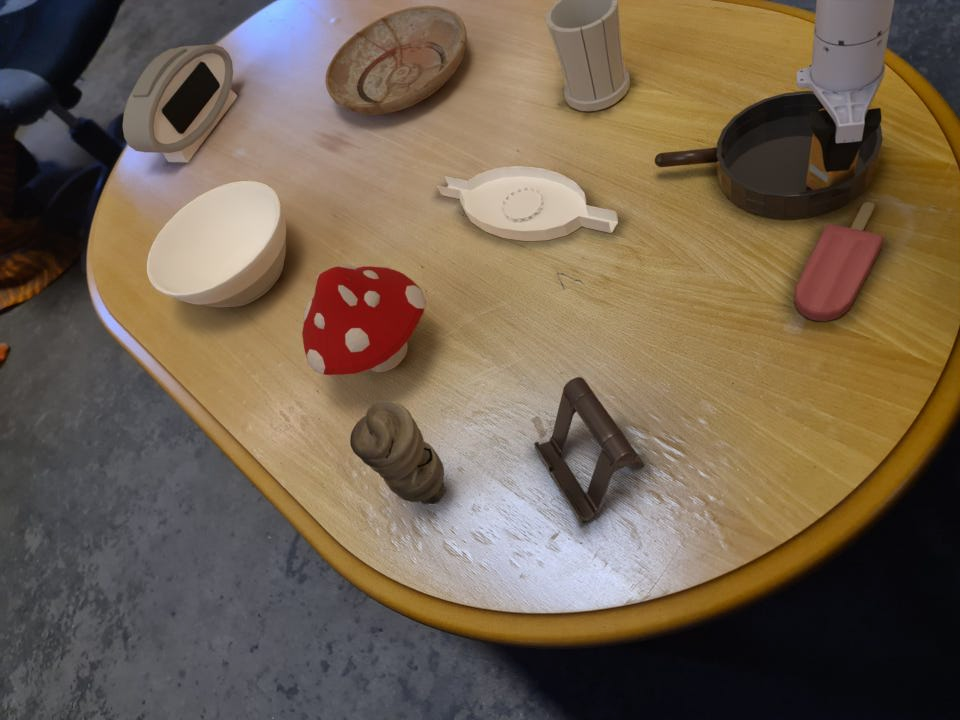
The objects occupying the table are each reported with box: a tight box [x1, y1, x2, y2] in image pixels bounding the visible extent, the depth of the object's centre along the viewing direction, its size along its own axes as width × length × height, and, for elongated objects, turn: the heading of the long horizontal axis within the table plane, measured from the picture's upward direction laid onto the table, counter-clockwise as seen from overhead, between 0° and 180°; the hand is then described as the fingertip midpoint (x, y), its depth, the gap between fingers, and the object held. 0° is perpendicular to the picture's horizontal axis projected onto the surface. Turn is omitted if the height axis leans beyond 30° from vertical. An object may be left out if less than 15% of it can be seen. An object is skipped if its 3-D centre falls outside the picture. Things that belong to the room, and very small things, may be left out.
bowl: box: [146, 180, 287, 308], centre depth 92 cm, size 19×19×8 cm
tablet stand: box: [533, 376, 645, 525], centre depth 61 cm, size 9×8×8 cm
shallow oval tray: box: [436, 165, 619, 242], centre depth 85 cm, size 10×25×2 cm, turn 58°
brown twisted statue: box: [349, 399, 447, 505], centre depth 62 cm, size 6×6×15 cm
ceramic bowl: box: [324, 5, 468, 115], centre depth 108 cm, size 23×24×5 cm
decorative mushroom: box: [301, 263, 427, 376], centre depth 74 cm, size 14×14×15 cm
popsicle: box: [794, 201, 885, 322], centre depth 68 cm, size 5×2×15 cm
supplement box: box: [806, 108, 859, 190], centre depth 69 cm, size 3×3×10 cm
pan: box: [716, 90, 884, 221], centre depth 75 cm, size 16×16×4 cm
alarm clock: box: [122, 43, 238, 163], centre depth 116 cm, size 23×6×13 cm, turn 158°
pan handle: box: [654, 147, 725, 168], centre depth 79 cm, size 8×2×2 cm, turn 78°
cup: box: [545, 0, 631, 112], centre depth 90 cm, size 10×9×12 cm
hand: (835, 149), depth 69 cm, fingers open, 5 cm apart
